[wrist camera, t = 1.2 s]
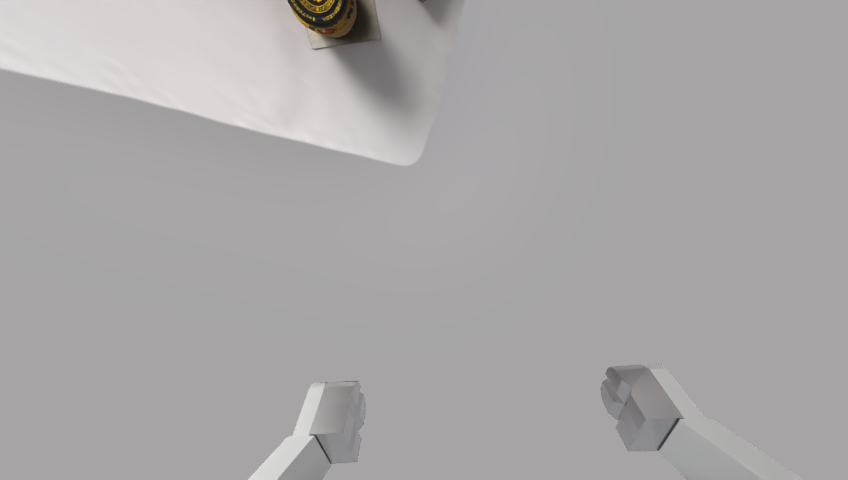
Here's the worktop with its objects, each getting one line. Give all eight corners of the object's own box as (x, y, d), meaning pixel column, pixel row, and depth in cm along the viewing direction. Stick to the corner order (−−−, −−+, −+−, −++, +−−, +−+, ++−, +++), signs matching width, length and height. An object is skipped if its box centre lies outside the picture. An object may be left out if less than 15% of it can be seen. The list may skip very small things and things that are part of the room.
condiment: (290, -30, 33) (256, -64, 23) (367, -40, 33) (366, -77, 23) (312, 49, 37) (291, 49, 27) (380, 39, 37) (385, 35, 27)
